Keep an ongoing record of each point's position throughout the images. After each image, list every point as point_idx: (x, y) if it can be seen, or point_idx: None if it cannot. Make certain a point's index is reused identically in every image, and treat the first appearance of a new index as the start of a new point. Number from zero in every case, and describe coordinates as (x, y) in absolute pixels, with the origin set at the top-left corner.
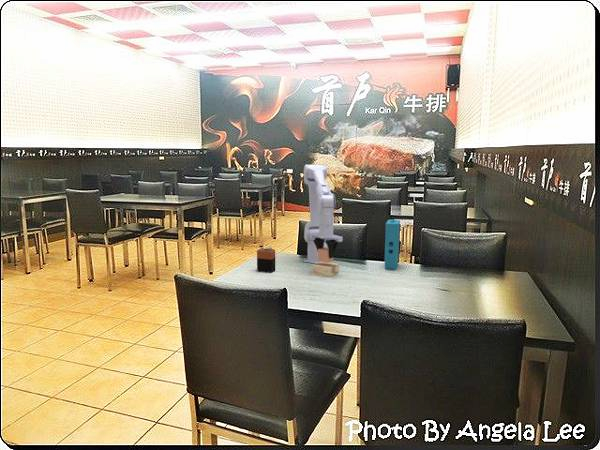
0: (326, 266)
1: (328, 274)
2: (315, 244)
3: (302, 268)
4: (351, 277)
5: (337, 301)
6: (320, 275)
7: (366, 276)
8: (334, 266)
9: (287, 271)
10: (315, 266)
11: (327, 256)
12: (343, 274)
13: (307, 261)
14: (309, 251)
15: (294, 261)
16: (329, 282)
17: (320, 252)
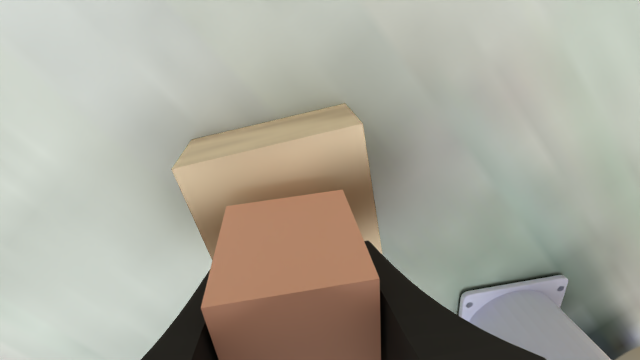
0: (241, 188)
1: (199, 143)
2: (471, 331)
3: (495, 167)
4: (84, 240)
5: None
6: (273, 120)
7: (48, 316)
8: (207, 243)
9: (555, 19)
10: (329, 130)
11: (217, 251)
12: (183, 252)
13: (538, 282)
14: (581, 345)
15: (616, 244)
16: (52, 7)
17: (325, 254)
